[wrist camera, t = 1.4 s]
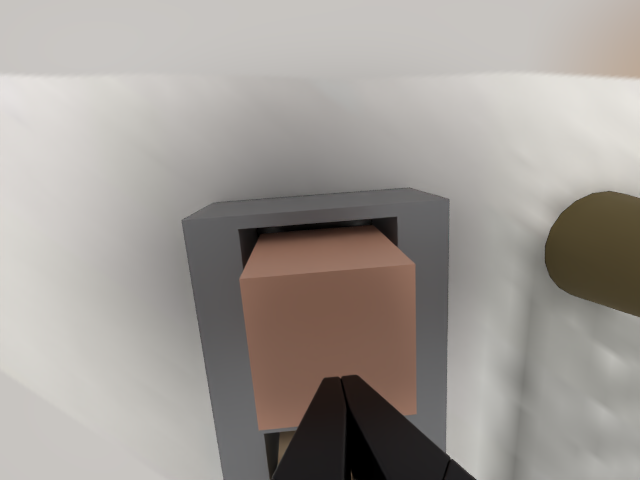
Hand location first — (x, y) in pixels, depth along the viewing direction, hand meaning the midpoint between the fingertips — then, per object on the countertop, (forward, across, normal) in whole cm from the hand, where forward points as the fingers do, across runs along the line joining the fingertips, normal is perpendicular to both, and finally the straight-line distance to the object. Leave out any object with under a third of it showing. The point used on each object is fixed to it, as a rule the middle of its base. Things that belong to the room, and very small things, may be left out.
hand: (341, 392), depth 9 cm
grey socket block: (+11, 0, +4) cm, 12 cm away
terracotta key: (+7, 0, 0) cm, 7 cm away
